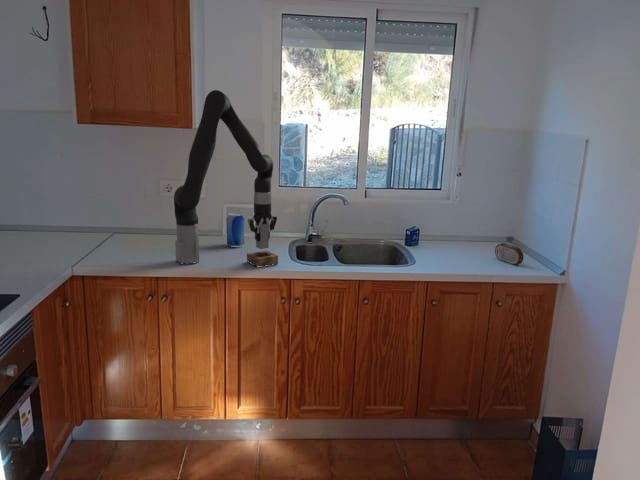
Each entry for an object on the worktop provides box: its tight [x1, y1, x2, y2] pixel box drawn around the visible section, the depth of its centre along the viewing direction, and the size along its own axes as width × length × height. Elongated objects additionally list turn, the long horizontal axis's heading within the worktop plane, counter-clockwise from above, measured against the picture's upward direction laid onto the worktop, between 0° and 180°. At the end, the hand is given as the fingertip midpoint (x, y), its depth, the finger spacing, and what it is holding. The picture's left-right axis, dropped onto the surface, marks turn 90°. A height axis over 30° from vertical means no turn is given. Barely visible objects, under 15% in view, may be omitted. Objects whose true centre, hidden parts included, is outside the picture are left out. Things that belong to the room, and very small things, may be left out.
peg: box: [255, 222, 270, 250], centre depth 235 cm, size 4×4×11 cm
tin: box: [494, 242, 524, 266], centre depth 251 cm, size 15×3×8 cm, turn 30°
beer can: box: [226, 212, 245, 247], centre depth 263 cm, size 8×8×16 cm
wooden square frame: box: [246, 250, 279, 266], centre depth 238 cm, size 10×10×4 cm
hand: (262, 240), depth 236 cm, fingers closed on peg, 4 cm apart
